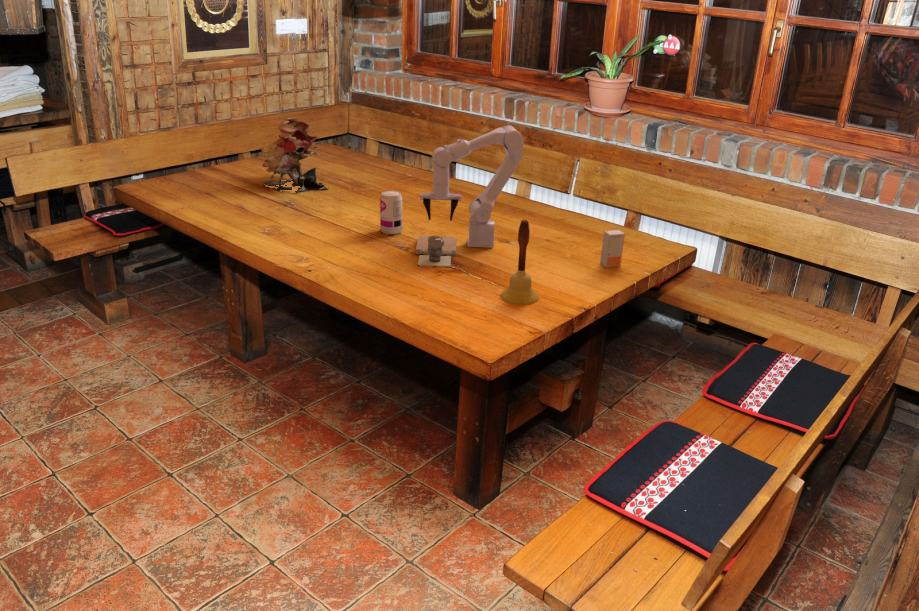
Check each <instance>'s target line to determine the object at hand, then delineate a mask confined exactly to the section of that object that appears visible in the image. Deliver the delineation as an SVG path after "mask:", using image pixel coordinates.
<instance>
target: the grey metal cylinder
mask: <svg viewBox="0 0 919 611" xmlns="http://www.w3.org/2000/svg"><path fill="white" fill-rule="evenodd" d="M429 236H430V237H429V238H428V255H429V261H430V262H440V261H441V255H442V237H443V236H441V237H440V235H429Z"/></svg>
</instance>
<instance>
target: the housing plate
mask: <svg viewBox="0 0 919 611" xmlns="http://www.w3.org/2000/svg"><path fill="white" fill-rule="evenodd" d="M430 236H431V235H418V236H417V243H416V245H415V246H416V247H415V255H416V254H425V255H428V238H429V237H430ZM439 236H440V235H439ZM440 237H442V255H447V256H451V257H456V256H457V254H456V253H457V242H458V241H457V240H458V239H457V236H440Z"/></svg>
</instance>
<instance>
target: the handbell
mask: <svg viewBox="0 0 919 611" xmlns="http://www.w3.org/2000/svg"><path fill="white" fill-rule="evenodd" d="M517 235H518V236H517V241H518V242H517V243H518V246H519V247H518V249H519V252H518V263H517V271H516V272H514V273H512V274H511V276H510V278H509V286H508V287H507V288H506V289H504V290H503V291H502V292H500V295H499V297H500V299H501V300H502V301H503V302H505V303H507V304H509V305H516V306H529V305H533V304H536V303H537V302H538V301H539V300H540V295H539V294H538V292H536V291H535V290H534V289H533V288H532V276H531V275H530V274H529V273H527V272H526V261H527V260H526V258H527V248H528V245H529V242H530V224H529V220H527V219H523V220H521V221H520V224H519V226H518V233H517Z"/></svg>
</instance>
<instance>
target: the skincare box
mask: <svg viewBox="0 0 919 611" xmlns="http://www.w3.org/2000/svg"><path fill="white" fill-rule="evenodd" d="M625 235H626V233H624V232H623V231H621V230H620V229H615V230H614V229H613V230H604V231H603V237H602V238H603V239H602V246H601V252H600V261H599V263H600V265H602V266H603V267H604V268H612V267H613V268H614V267H621V263H622V256H623V251H624V242H625V237H626V236H625Z"/></svg>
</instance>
